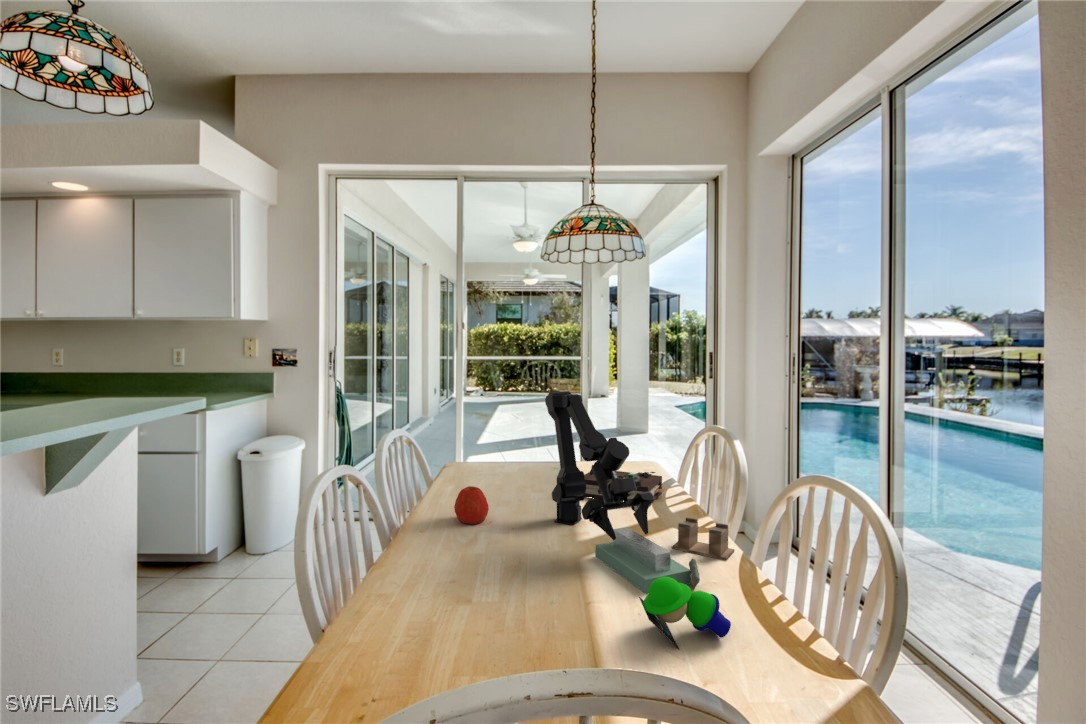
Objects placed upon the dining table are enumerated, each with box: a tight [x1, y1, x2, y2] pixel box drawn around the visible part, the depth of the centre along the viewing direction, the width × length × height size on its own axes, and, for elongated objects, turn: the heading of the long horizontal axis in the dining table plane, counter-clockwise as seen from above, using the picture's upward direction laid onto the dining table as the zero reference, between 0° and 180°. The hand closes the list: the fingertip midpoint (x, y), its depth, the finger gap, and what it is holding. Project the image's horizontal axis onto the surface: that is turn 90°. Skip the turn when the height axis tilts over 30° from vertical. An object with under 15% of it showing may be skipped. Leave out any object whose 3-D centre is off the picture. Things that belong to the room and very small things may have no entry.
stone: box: [688, 558, 701, 589], centre depth 125 cm, size 13×2×5 cm, turn 171°
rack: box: [671, 516, 735, 561], centre depth 142 cm, size 14×7×7 cm, turn 56°
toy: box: [638, 577, 732, 650], centre depth 101 cm, size 10×11×15 cm
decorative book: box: [584, 470, 666, 501], centre depth 193 cm, size 19×8×30 cm
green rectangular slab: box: [595, 541, 692, 594], centre depth 130 cm, size 22×12×3 cm, turn 24°
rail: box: [612, 526, 672, 573], centre depth 130 cm, size 18×4×4 cm, turn 24°
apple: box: [453, 485, 489, 525], centre depth 165 cm, size 10×10×10 cm
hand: (631, 536), depth 134 cm, fingers open, 9 cm apart
